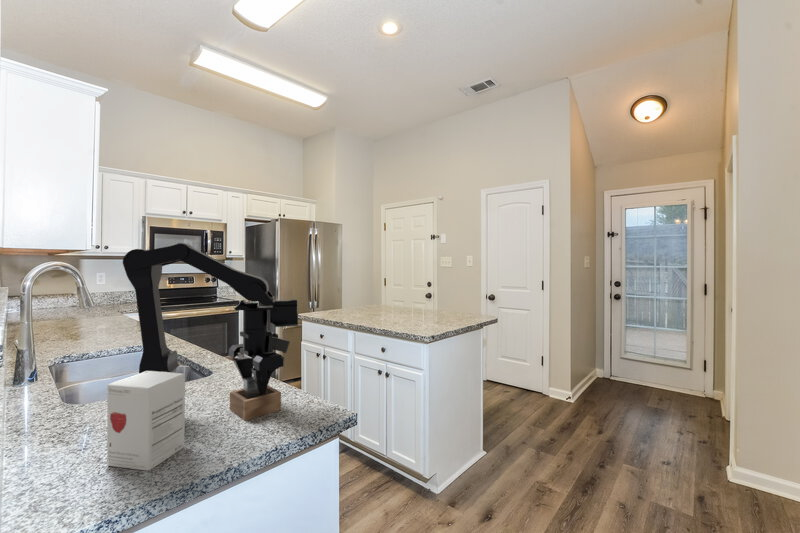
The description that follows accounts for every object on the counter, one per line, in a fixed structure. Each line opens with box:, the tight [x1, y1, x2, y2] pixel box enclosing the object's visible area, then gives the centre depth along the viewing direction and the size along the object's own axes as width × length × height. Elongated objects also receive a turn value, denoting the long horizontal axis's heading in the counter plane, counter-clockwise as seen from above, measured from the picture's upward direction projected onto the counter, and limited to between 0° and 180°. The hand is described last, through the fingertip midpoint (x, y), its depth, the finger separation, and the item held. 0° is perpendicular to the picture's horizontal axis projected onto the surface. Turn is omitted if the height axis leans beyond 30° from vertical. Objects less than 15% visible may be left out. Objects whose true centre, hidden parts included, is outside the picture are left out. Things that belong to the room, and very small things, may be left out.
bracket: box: [243, 376, 267, 399], centre depth 92 cm, size 5×5×8 cm
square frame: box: [229, 385, 282, 422], centre depth 92 cm, size 9×9×4 cm
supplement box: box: [106, 371, 186, 472], centre depth 70 cm, size 9×9×15 cm
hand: (255, 390), depth 92 cm, fingers open, 8 cm apart
